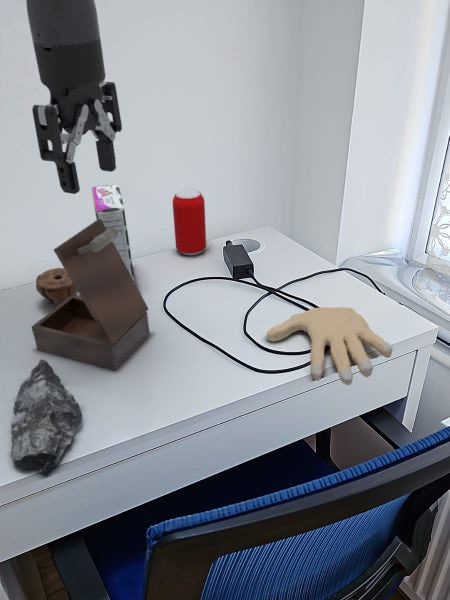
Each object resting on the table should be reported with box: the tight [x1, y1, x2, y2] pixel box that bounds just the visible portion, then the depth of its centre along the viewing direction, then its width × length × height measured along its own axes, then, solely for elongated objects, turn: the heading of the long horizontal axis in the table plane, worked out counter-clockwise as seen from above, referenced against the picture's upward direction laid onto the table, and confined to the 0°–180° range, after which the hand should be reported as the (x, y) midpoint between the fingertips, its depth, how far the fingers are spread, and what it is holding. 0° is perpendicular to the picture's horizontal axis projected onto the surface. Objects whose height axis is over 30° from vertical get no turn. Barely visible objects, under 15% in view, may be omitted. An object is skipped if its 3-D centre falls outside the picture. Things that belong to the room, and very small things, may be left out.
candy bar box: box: [91, 184, 136, 283], centre depth 104 cm, size 11×5×16 cm, turn 13°
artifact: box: [35, 267, 78, 307], centre depth 102 cm, size 8×8×5 cm
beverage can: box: [172, 188, 207, 256], centre depth 115 cm, size 6×6×12 cm
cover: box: [53, 219, 149, 345], centre depth 84 cm, size 15×11×5 cm
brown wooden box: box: [31, 295, 150, 371], centre depth 93 cm, size 15×11×4 cm
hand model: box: [266, 306, 393, 386], centre depth 91 cm, size 19×5×20 cm
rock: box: [10, 358, 83, 474], centre depth 79 cm, size 9×22×4 cm, turn 15°
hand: (90, 181), depth 76 cm, fingers open, 8 cm apart
